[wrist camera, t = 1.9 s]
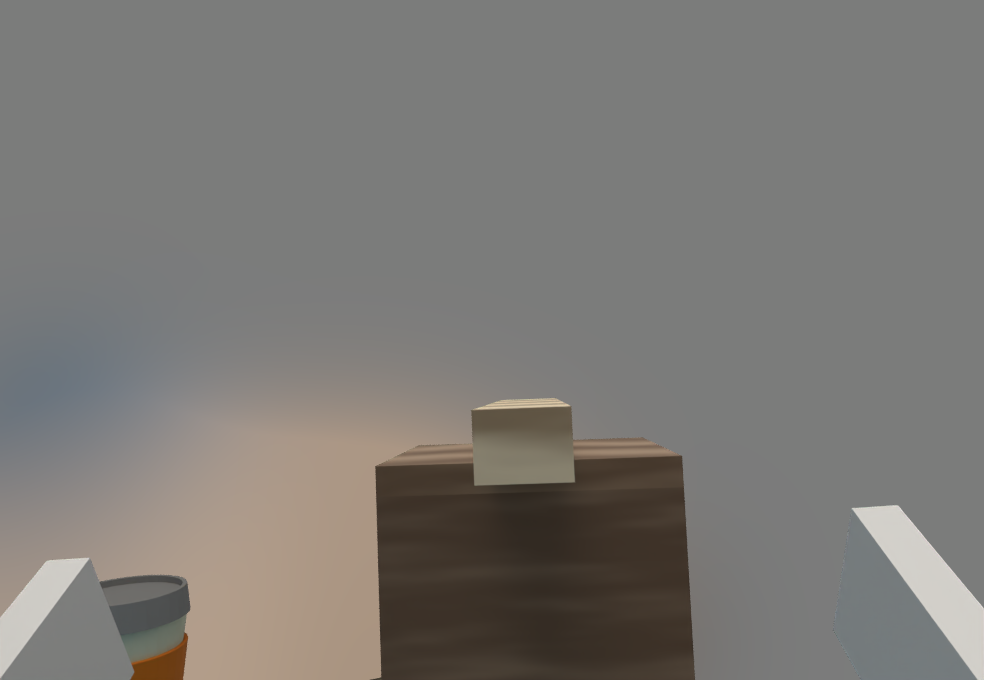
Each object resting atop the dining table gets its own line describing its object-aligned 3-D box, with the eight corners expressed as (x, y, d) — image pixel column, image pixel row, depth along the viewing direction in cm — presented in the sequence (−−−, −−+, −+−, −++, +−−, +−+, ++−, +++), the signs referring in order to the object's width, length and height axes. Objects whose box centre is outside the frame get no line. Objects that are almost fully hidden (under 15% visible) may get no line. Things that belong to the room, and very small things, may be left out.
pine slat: (574, 482, 29) (571, 406, 29) (474, 485, 29) (471, 410, 29) (557, 439, 52) (555, 398, 53) (502, 441, 53) (500, 400, 53)
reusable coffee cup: (95, 789, 64) (95, 615, 65) (25, 755, 70) (26, 598, 71) (217, 729, 74) (215, 581, 75) (146, 705, 81) (145, 569, 82)
